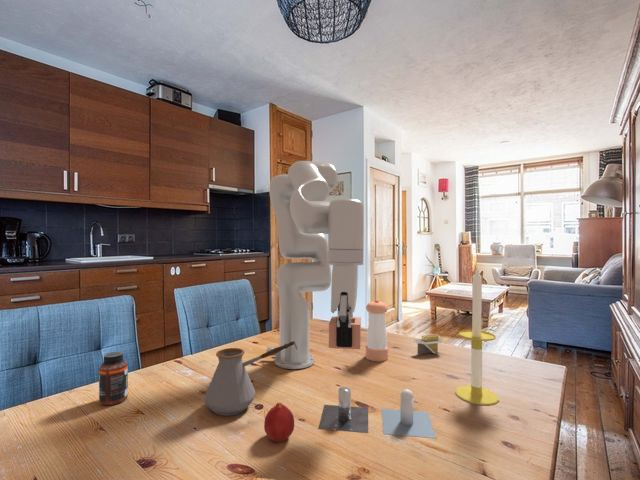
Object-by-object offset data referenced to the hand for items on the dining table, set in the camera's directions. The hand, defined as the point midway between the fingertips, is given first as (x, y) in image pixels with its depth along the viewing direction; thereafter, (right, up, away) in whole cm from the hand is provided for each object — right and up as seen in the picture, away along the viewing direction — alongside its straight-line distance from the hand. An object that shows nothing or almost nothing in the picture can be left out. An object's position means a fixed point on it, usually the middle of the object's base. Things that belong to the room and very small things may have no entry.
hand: (345, 340), depth 73 cm
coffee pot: (-21, -18, +7) cm, 29 cm away
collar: (0, -1, 0) cm, 1 cm away
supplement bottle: (-55, -18, +10) cm, 59 cm away
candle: (+34, -18, +13) cm, 40 cm away
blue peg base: (+13, -18, -2) cm, 22 cm away
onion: (-13, -18, -7) cm, 23 cm away
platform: (+32, -18, +43) cm, 57 cm away
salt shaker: (+13, -18, +40) cm, 45 cm away
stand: (0, -18, 0) cm, 18 cm away
